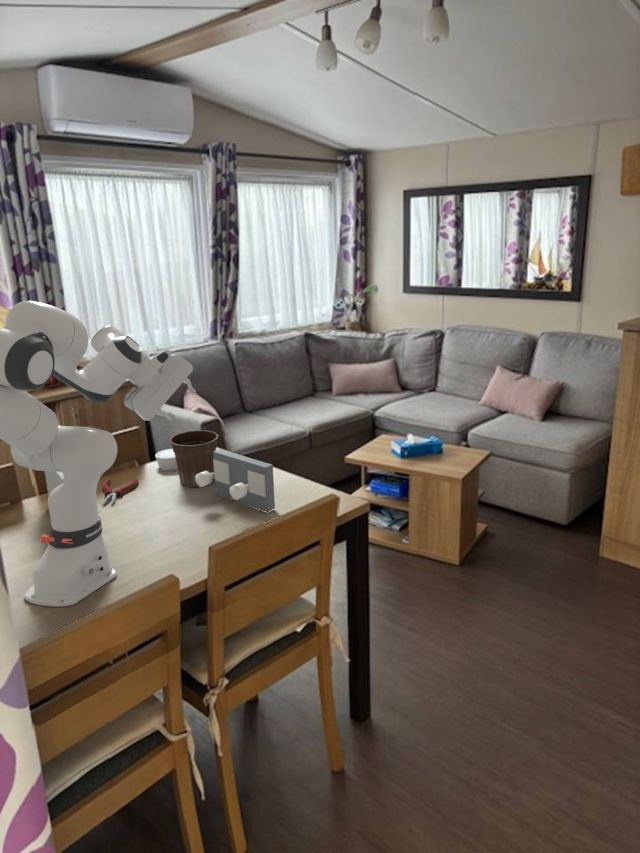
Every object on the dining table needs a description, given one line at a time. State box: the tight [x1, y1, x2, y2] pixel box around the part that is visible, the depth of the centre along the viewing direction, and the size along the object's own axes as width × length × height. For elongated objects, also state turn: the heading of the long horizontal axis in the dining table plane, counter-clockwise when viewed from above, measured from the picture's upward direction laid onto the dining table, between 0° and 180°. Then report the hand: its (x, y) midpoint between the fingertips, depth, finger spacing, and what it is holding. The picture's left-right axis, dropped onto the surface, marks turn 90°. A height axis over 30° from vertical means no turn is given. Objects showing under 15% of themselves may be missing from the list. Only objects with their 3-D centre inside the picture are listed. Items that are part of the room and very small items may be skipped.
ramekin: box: [154, 448, 178, 471], centre depth 235 cm, size 11×11×5 cm
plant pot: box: [169, 429, 219, 488], centre depth 218 cm, size 16×16×16 cm
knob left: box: [195, 471, 215, 488], centre depth 199 cm, size 5×4×4 cm
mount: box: [213, 448, 276, 512], centre depth 200 cm, size 4×24×15 cm, turn 49°
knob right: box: [230, 482, 250, 500], centre depth 189 cm, size 5×4×4 cm
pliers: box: [101, 478, 139, 506], centre depth 211 cm, size 12×20×3 cm, turn 3°
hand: (183, 405), depth 179 cm, fingers open, 8 cm apart
